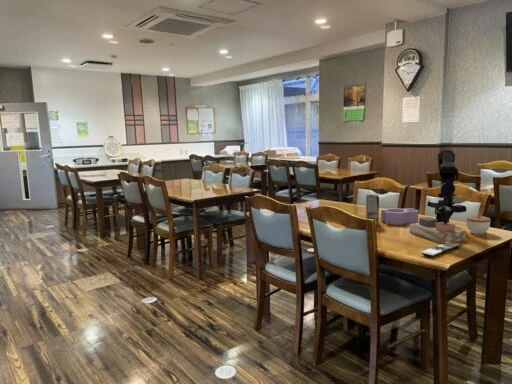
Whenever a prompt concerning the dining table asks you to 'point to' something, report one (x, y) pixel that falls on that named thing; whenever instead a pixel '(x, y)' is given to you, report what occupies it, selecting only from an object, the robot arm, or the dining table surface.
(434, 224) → the charcoal button
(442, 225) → the terracotta button
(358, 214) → the dining table surface
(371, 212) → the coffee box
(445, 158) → the robot arm
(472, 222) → the lidded jar
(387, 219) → the mauve piece
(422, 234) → the button console
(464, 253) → the dining table surface
